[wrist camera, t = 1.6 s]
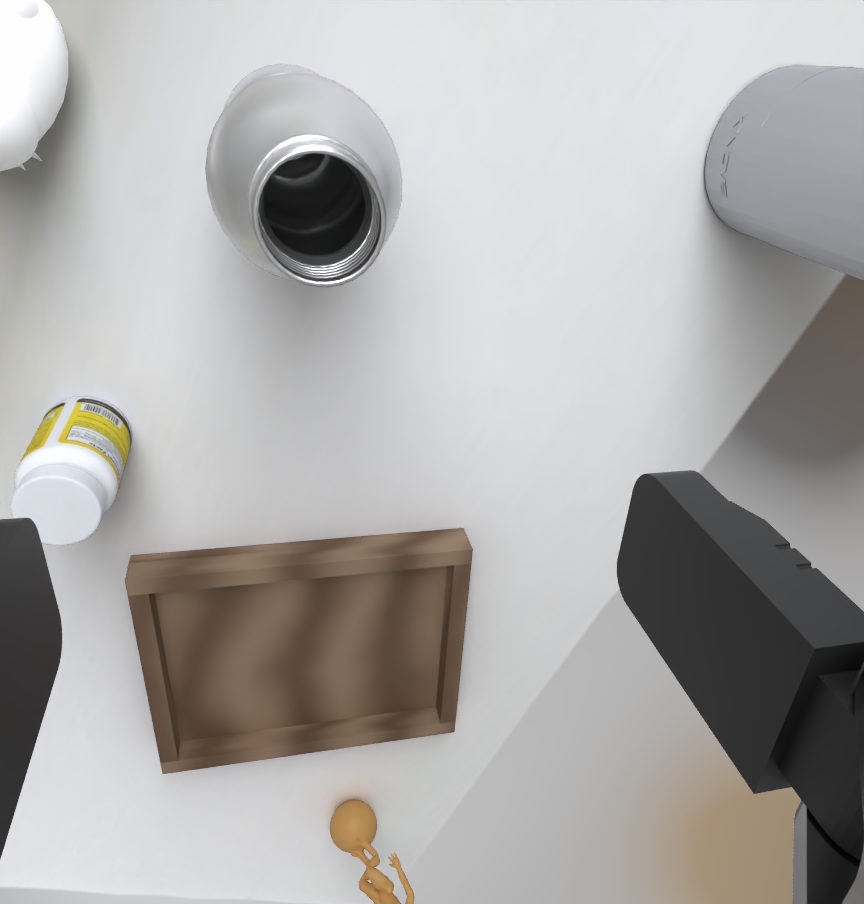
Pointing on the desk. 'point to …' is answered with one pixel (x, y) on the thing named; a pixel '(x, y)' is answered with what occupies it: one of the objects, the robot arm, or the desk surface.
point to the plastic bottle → (303, 176)
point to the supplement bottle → (72, 469)
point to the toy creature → (29, 77)
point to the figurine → (353, 835)
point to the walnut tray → (300, 644)
